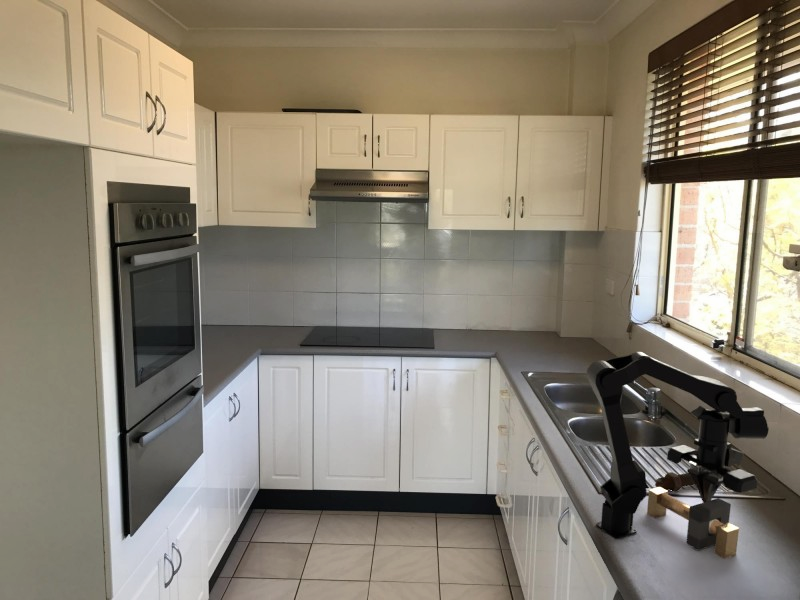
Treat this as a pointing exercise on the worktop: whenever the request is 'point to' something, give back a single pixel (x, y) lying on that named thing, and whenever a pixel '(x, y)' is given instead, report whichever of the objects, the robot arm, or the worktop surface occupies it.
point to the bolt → (674, 481)
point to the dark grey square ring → (705, 522)
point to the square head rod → (662, 500)
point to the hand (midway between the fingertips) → (706, 503)
